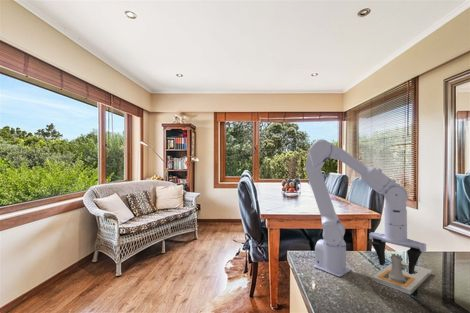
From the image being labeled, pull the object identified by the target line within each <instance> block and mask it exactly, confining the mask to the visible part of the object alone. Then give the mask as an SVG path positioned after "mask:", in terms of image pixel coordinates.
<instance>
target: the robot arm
mask: <svg viewBox="0 0 470 313" xmlns="http://www.w3.org/2000/svg"><path fill="white" fill-rule="evenodd" d="M328 159H333V160H337V161H340V162H342V163H343V164H345V165H346V166H347V167H349V168H350V169H352V170H353V171H355V172H356V173H357V174H359V175H360V177H361V178H360V180H361V182H363V183H364V184H365V185H367V186H368V187H369V188H371V189H372V190H374V191H375V192H376V193H378V194H380V195H383V197H384V202H385V203H384V205H385V206H384V209H383V210H384V213H383V215H384V233H380V232H372V231H371V232H370V233H369V234H368V235H369V238H368V239H369V240H371V246H372V247H373V249H374V251H375V253H376V256H377V259H378V262H379V265H380V266H384V265H385V263H386V255H385V254H386V253H385V252H386V244H387V243H388V244H391V245H395V246H401V247H405V248H408V249H407V250H406V254H407V259H408V260H407V261H408V264H409V267H408V269H407V272H409V274H411V275H412V274H415V271H414V268H415V266H417V265H416V264H417V262H418V260H419V259H420V257H421V254H422V253H425V252H426V251H427V244H426V243H425V242H421V241H420V242H419V241H417V240H414V239H410V238H408V210H407V201H408V200H409V196H410V195H409V194H408V192H407V190H406V189H405V187H403V186H401V184H399V183H397V180H396V179H394V178H393V179H392V178H391V177H389V176H388V175H386V174H385V173H383V169H381V168H379V167H378V168H376V166H375V167H374V166H372V167H367V166H366V165H364V164H363V163H362V162H360V161H359V160H358V159H357V158H356V157H354V156H353V155H351V154H350V153H349V152H347V151H346V150H344V149H343V148H341V147H339V146H337V145H335V144H333V143H331V142H330V141H328V140H326V139H323V138H321V139H317V140H315V141H314V142H313V143H312V144H311V146H310V147H309V149H308V154H307V157H306V162H305V167H304V169H305V172H306V175H307V178H308V181H309V184H310V187H311V190H312V192H313V196H314V199H315V202H316V206H317V208H318V211H319V214H320V218H321V220H320V221H321V226H322V230H323V231H322V238H321V239H318V240H317V241H316V244H315V246H314V265H313V267H314V268H316V269H319V270H321V271H323V272H326V273H328V274H331V275H334V276H336V277H338V278H341V277H342V276H344V275H346V274H347V273H349V272H351V271H352V268H350V267H349V266H347V242H346V241H345V240H344V235H345V234H346V228H345V225H344V224H343V223H342V222H341V220H340V219H339V215H338V214H337V213H336V210H335V207H334V205H333V202H332V199H331V196H330V193H329V190H328V187H327V184H326V180H325V178H324V174H323V173H322V172H323V171H322V167H323V166H324V164H325V163H326V161H327V160H328Z"/></svg>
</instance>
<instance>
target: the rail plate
mask: <svg viewBox="0 0 470 313" xmlns="http://www.w3.org/2000/svg"><path fill="white" fill-rule="evenodd" d="M401 263H402V265H401V268H402V269H406V270H408V267H409V262H408V263H407V262H404V261H402V262H401ZM391 269H392V263H389V264H388V265H387V266H385V267H383V268H382V269H381V270H380V271H378V272H376V273H375V274H374V275H372V276H371V282H374V283H377V284H379V285H383V286H386V287H389V288H391V289H394V290H396V291H400V292H401V293H405V294H407V295H412V294H413V293H414V292H415V291H416V290H417V289H418V288H419V287H420V286H421V285H422V284H423V283H424V282H425V281H426V280H427V279H428V277H429V276H431V275H432V269H430V268H426V267H422V266H419V265H415V268H414V273H413V274H412V275H411V274H409V272H408V271H405V270H402V273H403V275H404V277H405V281H406V283H405V284H402V283H399V282H397V281H394V280H391V279H388V278H389V273H390V272H391ZM415 272H416V273H415Z"/></svg>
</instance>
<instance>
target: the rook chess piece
mask: <svg viewBox="0 0 470 313" xmlns="http://www.w3.org/2000/svg"><path fill="white" fill-rule="evenodd" d="M389 258H390V259H391V263H392V269H391V272H390V273H389V277H387V278H388V279H391V280H394V281H397V282H399V283H402V284H405V283H406V282H407V281H405V277H404V275H403V273H402V271H403V268H402V267H401V265H402V263H401V262H404V259H403V258H402V255H401V254H399V253H398V254H396V253H392V254H391V256H390V257H389ZM391 263H390V264H391Z"/></svg>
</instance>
